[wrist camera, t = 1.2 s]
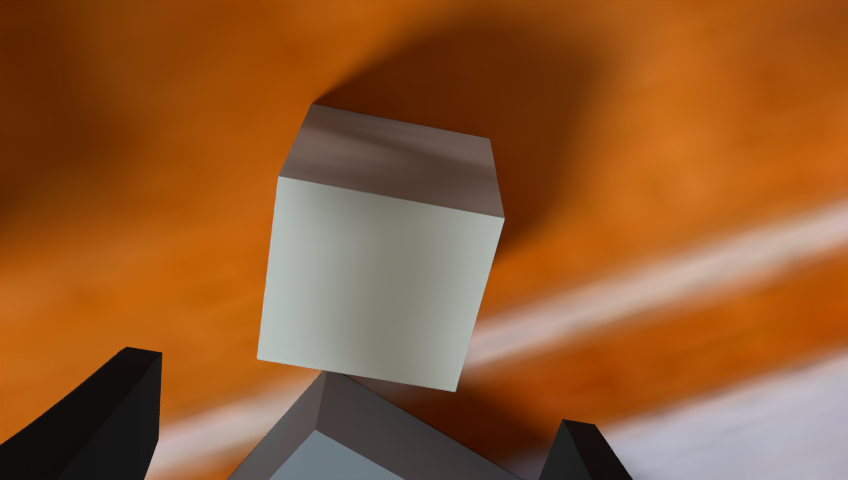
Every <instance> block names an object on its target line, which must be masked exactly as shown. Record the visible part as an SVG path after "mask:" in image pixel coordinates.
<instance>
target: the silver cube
mask: <svg viewBox="0 0 848 480" xmlns="http://www.w3.org/2000/svg"><path fill="white" fill-rule="evenodd" d="M504 220H505V217H504V211H503V206H502V201H501V195H500V190H499V185H498V180H497V174H496V169H495V164H494V159H493V153H492V148H491V143H490V139H489V138H484V137H478V136H473V135H468V134H463V133H458V132H453V131H448V130H443V129H438V128H433V127H427V126H422V125H417V124H412V123H407V122H402V121H397V120H392V119H387V118H382V117H377V116H371V115H366V114H361V113H356V112H351V111H346V110H341V109H336V108H331V107H326V106H321V105H315V104H311V106H310V108H309V110H308V113H307V115H306V117H305V119H304V121H303V123H302V126H301V128H300V130H299V132H298V134H297V137H296V139H295V141H294V143H293V145H292V147H291V150H290V152H289V154H288V156H287V158H286V161H285V163H284V165H283V167H282V169H281V172H280V174H279V176H278V184H277V192H276V201H275V209H274V218H273V226H272V235H271V243H270V252H269V260H268V269H267V277H266V286H265V295H264V303H263V312H262V320H261V329H260V337H259V346H258V354H257V359H259V360H265V361H271V362H277V363H283V364H289V365H295V366H301V367H307V368H313V369H320V370H326V371H332V372H338V373H344V374H350V375H356V376H362V377H368V378H374V379H380V380H386V381H392V382H398V383H404V384H410V385H416V386H422V387H428V388H434V389H440V390H446V391H452V392H455V391H456V388H457V384H458V381H459V377H460V374H461V370H462V367H463V363H464V360H465V356H466V353H467V349H468V346H469V342H470V339H471V335H472V332H473V328H474V325H475V321H476V318H477V314H478V311H479V307H480V304H481V300H482V297H483V293H484V290H485V286H486V283H487V279H488V276H489V272H490V269H491V265H492V262H493V258H494V255H495V251H496V248H497V244H498V241H499V237H500V234H501V230H502V227H503V223H504Z"/></svg>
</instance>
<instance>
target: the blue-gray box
mask: <svg viewBox="0 0 848 480" xmlns="http://www.w3.org/2000/svg"><path fill="white" fill-rule="evenodd" d="M227 480H521V479H519V478H517V477H516V476H514V475H512V474H510V473H509V472H507V471H505V470H504V469H502V468H500V467H499V466H497V465H495V464H494V463H492V462H490V461H488V460H487V459H485V458H483V457H482V456H480V455H478V454H477V453H475V452H473V451H471V450H470V449H468V448H466V447H465V446H463V445H461V444H460V443H458V442H456V441H455V440H453V439H451V438H449V437H448V436H446V435H444V434H443V433H441V432H439V431H438V430H436V429H434V428H432V427H431V426H429V425H427V424H426V423H424V422H422V421H421V420H419V419H417V418H416V417H414V416H412V415H410V414H409V413H407V412H405V411H404V410H402V409H400V408H399V407H397V406H395V405H393V404H392V403H390V402H388V401H387V400H385V399H383V398H382V397H380V396H378V395H377V394H375V393H373V392H371V391H370V390H368V389H366V388H365V387H363V386H361V385H360V384H358V383H356V382H354V381H353V380H351V379H349V378H348V377H346V376H344V375H343V374H341V373H338V372H332V371H326V370H324V371H323V372H322V373H321V374H320V375H319V376H318V377H317V379H316V380H315V381H314V382H313V383H312V384H311V385H310V386H309V388H308V389H307V390H306V391H305V392H304V393H303V394H302V395H301V397H300V398H299V399H298V400H297V401H296V402H295V403H294V405H293V406H292V407H291V408H290V409H289V410H288V411H287V412H286V414H285V415H284V416H283V417H282V418H281V419H280V420H279V421H278V423H277V424H276V425H275V426H274V427H273V428H272V429H271V430H270V432H269V433H268V434H267V435H266V436H265V437H264V438H263V440H262V441H261V442H260V443H259V444H258V445H257V446H256V447H255V449H254V450H253V451H252V452H251V453H250V454H249V455H248V456H247V458H246V459H245V460H244V461H243V462H242V463H241V464H240V465H239V467H238V468H237V469H236V470H235V471H234V472H233V473H232V474H231V476H230V477H229V478H228V479H227Z"/></svg>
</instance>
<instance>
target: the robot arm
mask: <svg viewBox="0 0 848 480" xmlns="http://www.w3.org/2000/svg"><path fill="white" fill-rule="evenodd" d="M161 371H162V353H161V352H155V351H149V350H143V349H137V348H131V347H126V348H124V349H122V350H121V351H119V352H118V353H117V354H116V355H115V356H114V357H112V358H111V359H110V360H109V361H108V362H106V363H105V364H104V365H103V366H102V367H101V368H99V369H98V370H97V371H96V372H95V373H93V374H92V375H91V376H90V377H89V378H87V379H86V380H85V381H84V382H83V383H81V384H80V385H79V386H78V387H77V388H75V389H74V390H73V391H72V392H70V393H69V394H68V395H67V396H65V397H64V398H63V399H62V400H60V401H59V402H58V403H56V404H55V405H54V406H53V407H51V408H50V409H49V410H47V411H46V412H45V413H43V414H42V415H41V416H40V417H38V418H37V419H36V420H34V421H33V422H32V423H30V424H29V425H28V426H26V427H25V428H24V429H22V430H21V431H19V432H18V433H17V434H15V435H14V436H12V437H11V438H9V439H8V440H7V441H5V442H4V443H2V444H1V445H0V480H144V478H145V476H146V473H147V470H148V468H149V465H150V462H151V459H152V456H153V454H154V451H155V448H156V445H157V442H158V439H159V416H160V394H161ZM539 480H633V479H632V478H631V476H630V475H629V474H628V472H627V471H626V469H625V468H624V466H623V465H622V463H621V462H620V460H619V459H618V457H617V456H616V455H615V453H614V452H613V450H612V449H611V447H610V446H609V444H608V443H607V441H606V440H605V438H604V437H603V435H602V434H601V433H600V431H599V430H598V428H597V427H596V425H595V424H589V423H583V422H577V421H571V420H565V419H562V422H561V424H560V427H559V429H558V432H557V435H556V437H555V440H554V442H553V445H552V448H551V450H550V453H549V455H548V458H547V460H546V463H545V466H544V468H543V471H542V473H541V476H540V479H539Z"/></svg>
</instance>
